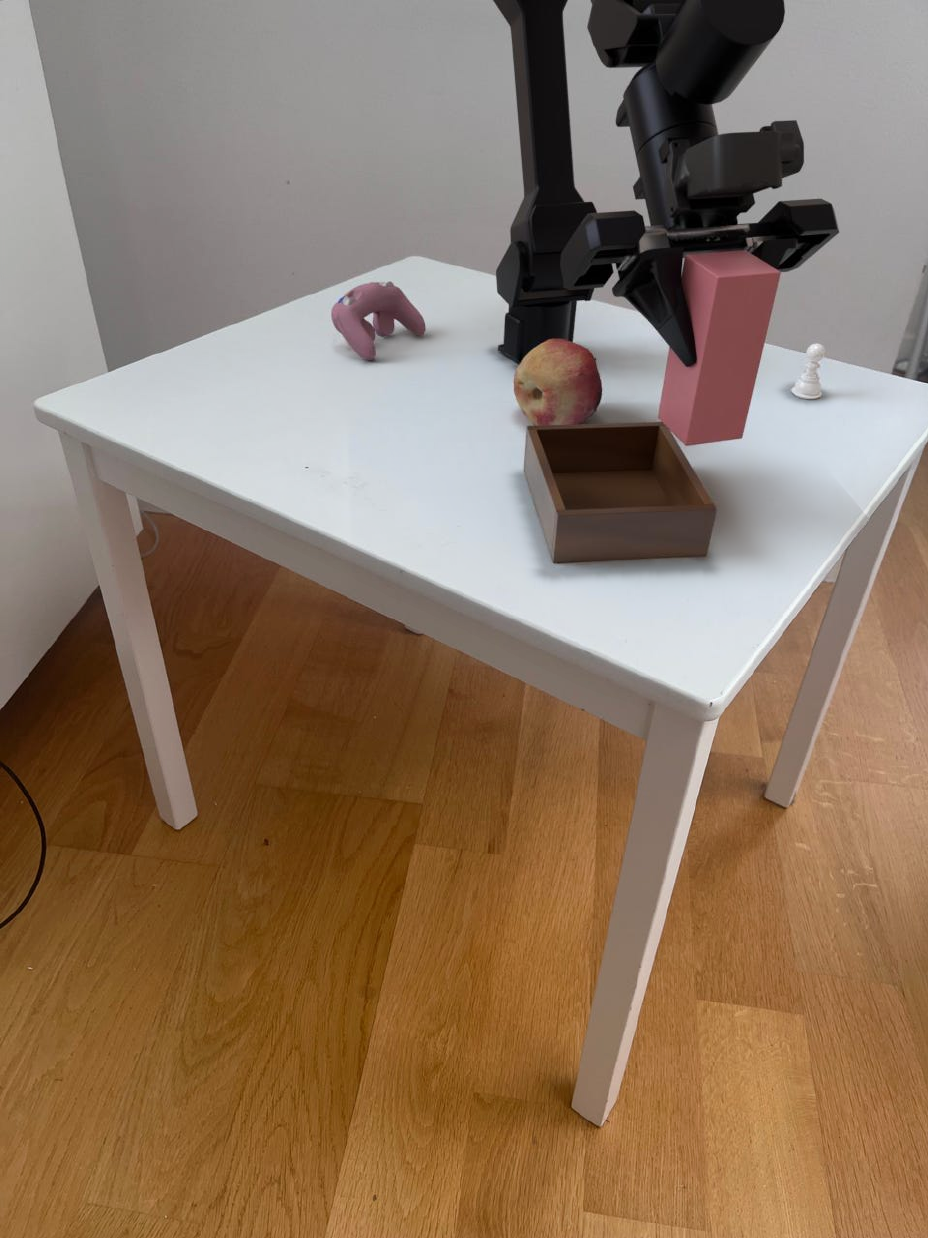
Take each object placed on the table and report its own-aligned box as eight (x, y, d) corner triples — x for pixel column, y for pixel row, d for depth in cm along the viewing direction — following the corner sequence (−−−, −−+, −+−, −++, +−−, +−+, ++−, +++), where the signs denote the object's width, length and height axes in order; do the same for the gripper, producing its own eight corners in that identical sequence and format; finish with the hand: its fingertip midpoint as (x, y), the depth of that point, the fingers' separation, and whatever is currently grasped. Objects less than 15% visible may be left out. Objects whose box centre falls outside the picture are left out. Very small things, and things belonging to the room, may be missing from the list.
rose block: (657, 417, 71) (684, 253, 63) (711, 411, 72) (745, 249, 64) (685, 446, 67) (718, 276, 60) (742, 439, 68) (781, 271, 61)
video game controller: (402, 340, 104) (379, 277, 102) (432, 331, 101) (408, 265, 99) (343, 369, 98) (316, 302, 96) (372, 360, 95) (345, 291, 92)
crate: (522, 478, 78) (526, 425, 75) (656, 473, 79) (664, 421, 76) (552, 571, 68) (557, 515, 65) (705, 564, 69) (717, 508, 66)
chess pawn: (802, 401, 91) (815, 351, 88) (785, 389, 93) (797, 340, 90) (826, 397, 92) (840, 348, 89) (809, 385, 94) (822, 337, 91)
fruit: (502, 412, 88) (506, 328, 83) (580, 405, 89) (589, 322, 84) (527, 452, 82) (533, 364, 77) (610, 443, 83) (621, 357, 78)
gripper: (595, 72, 56) (648, 323, 55) (863, 65, 60) (918, 297, 59) (539, 180, 67) (582, 391, 66) (770, 167, 71) (815, 365, 70)
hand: (723, 361), depth 65 cm, fingers closed on rose block, 4 cm apart
